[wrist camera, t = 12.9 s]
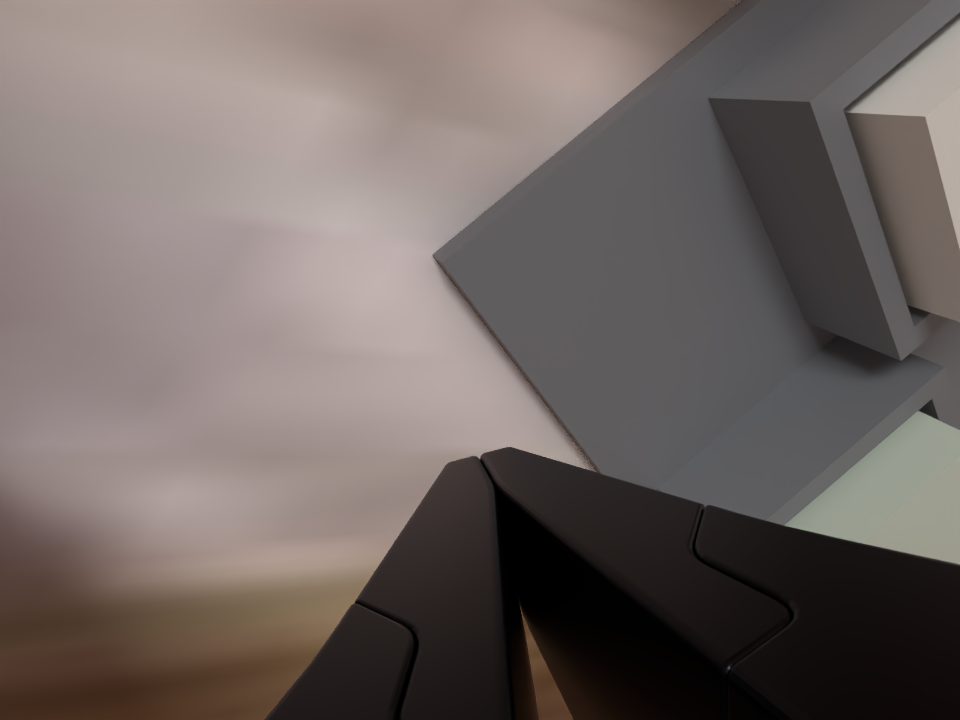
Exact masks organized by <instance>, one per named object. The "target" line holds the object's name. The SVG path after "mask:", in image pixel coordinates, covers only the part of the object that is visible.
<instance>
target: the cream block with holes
mask: <svg viewBox="0 0 960 720" xmlns="http://www.w3.org/2000/svg"><path fill="white" fill-rule="evenodd" d="M843 110H844V113H845V116H846V119H847V122H848V125H849V128H850V131H851V134H852V137H853V140H854V144H855V147H856V150H857V153H858V156H859V159H860V162H861V165H862V168H863V171H864V174H865V177H866V180H867V183H868V186H869V190H870V193H871V196H872V199H873V202H874V205H875V208H876V211H877V214H878V217H879V220H880V223H881V226H882V229H883V232H884V236H885V239H886V242H887V245H888V248H889V251H890V254H891V257H892V260H893V263H894V266H895V269H896V272H897V275H898V278H899V282H900V285H901V288H902V291H903V294H904V297H905V300H906V303H907V305H909V306H912V307H915V308H918V309H921V310H924V311H927V312H930V313H933V314H936V315H939V316H942V317H946V318H949V319H952V320H955V321H958V322H960V13H959V14H957V15H956V16H955V17H954V18H953V19H951V20H950V21H949V22H948V23H947V24H945V25H944V26H943V27H942V28H941V29H939V30H938V31H937V32H936V33H935V34H933V35H932V36H931V37H930V38H929V39H927V40H926V41H925V42H924V43H923V44H921V45H920V46H919V47H918V48H917V49H915V50H914V51H913V52H912V53H911V54H909V55H908V56H907V57H906V58H905V59H903V60H902V61H901V62H900V63H899V64H897V65H896V66H895V67H894V68H893V69H891V70H890V71H889V72H888V73H887V74H885V75H884V76H883V77H882V78H881V79H879V80H878V81H877V82H876V83H875V84H873V85H872V86H871V87H870V88H869V89H867V90H866V91H865V92H864V93H863V94H861V95H860V96H859V97H858V98H857V99H855V100H854V101H853V102H852V103H850V104H849V105H848V106H847V107H846V108H844V109H843Z"/></svg>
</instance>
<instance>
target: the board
mask: <svg viewBox="0 0 960 720" xmlns="http://www.w3.org/2000/svg"><path fill="white" fill-rule="evenodd" d="M959 13H960V0H743V1H741V2H740V3H739V4H738V5H737V6H735V7H734V8H733V9H732V10H730V11H729V12H728V13H727V14H726V15H724V16H723V17H722V18H721V19H719V20H718V21H717V22H716V23H715V24H713V25H712V26H711V27H710V28H708V29H707V30H706V31H705V32H704V33H702V34H701V35H700V36H699V37H698V38H696V39H695V40H694V41H693V42H691V43H690V44H689V45H688V46H687V47H685V48H684V49H683V50H682V51H680V52H679V53H678V54H677V55H676V56H674V57H673V58H672V59H671V60H669V61H668V62H667V63H666V64H665V65H663V66H662V67H661V68H660V69H659V70H657V71H656V72H655V73H654V74H652V75H651V76H650V77H649V78H648V79H646V80H645V81H644V82H643V83H641V84H640V85H639V86H638V87H637V88H635V89H634V90H633V91H632V92H631V93H629V94H628V95H627V96H626V97H624V98H623V99H622V100H621V101H620V102H618V103H617V104H616V105H615V106H613V107H612V108H611V109H610V110H609V111H607V112H606V113H605V114H604V115H602V116H601V117H600V118H599V119H598V120H596V121H595V122H594V123H593V124H592V125H590V126H589V127H588V128H587V129H585V130H584V131H583V132H582V133H581V134H579V135H578V136H577V137H576V138H574V139H573V140H572V141H571V142H570V143H568V144H567V145H566V146H565V147H563V148H562V149H561V150H560V151H559V152H557V153H556V154H555V155H554V156H553V157H551V158H550V159H549V160H548V161H546V162H545V163H544V164H543V165H542V166H540V167H539V168H538V169H537V170H535V171H534V172H533V173H532V174H531V175H529V176H528V177H527V178H526V179H524V180H523V181H522V182H521V183H520V184H518V185H517V186H516V187H515V188H514V189H512V190H511V191H510V192H509V193H507V194H506V195H505V196H504V197H503V198H501V199H500V200H499V201H498V202H496V203H495V204H494V205H493V206H492V207H490V208H489V209H488V210H487V211H485V212H484V213H483V214H482V215H481V216H479V217H478V218H477V219H476V220H475V221H473V222H472V223H471V224H470V225H468V226H467V227H466V228H465V229H464V230H462V231H461V232H460V233H459V234H457V235H456V236H455V237H454V238H453V239H451V240H450V241H449V242H448V243H446V244H445V245H444V246H443V247H442V248H440V249H439V250H438V251H437V252H436V253H434V254H433V257H434V258H435V259H436V261H437V262H438V263H439V264H440V266H441V267H442V268H443V270H444V271H445V272H446V274H447V275H448V276H449V278H450V279H451V280H452V281H453V283H454V284H455V285H456V287H457V288H458V289H459V291H460V292H461V293H462V295H463V296H464V297H465V298H466V300H467V301H468V302H469V304H470V305H471V306H472V308H473V309H474V310H475V312H476V313H477V314H478V315H479V317H480V318H481V319H482V321H483V322H484V323H485V325H486V326H487V327H488V329H489V330H490V331H491V332H492V334H493V335H494V336H495V338H496V339H497V340H498V342H499V343H500V344H501V346H502V347H503V348H504V349H505V351H506V352H507V353H508V355H509V356H510V357H511V359H512V360H513V361H514V363H515V364H516V365H517V366H518V368H519V369H520V370H521V372H522V373H523V374H524V376H525V377H526V378H527V380H528V381H529V382H530V383H531V385H532V386H533V387H534V389H535V390H536V391H537V393H538V394H539V395H540V397H541V398H542V399H543V401H544V402H545V403H546V404H547V406H548V407H549V408H550V410H551V411H552V412H553V414H554V415H555V416H556V418H557V419H558V420H559V421H560V423H561V424H562V425H563V427H564V428H565V429H566V431H567V432H568V433H569V435H570V436H571V437H572V438H573V440H574V441H575V442H576V444H577V445H578V446H579V448H580V449H581V450H582V452H583V453H584V454H585V455H586V457H587V458H588V459H589V461H590V462H591V463H592V465H593V466H594V467H595V469H596V470H597V471H598V472H599V473H600V474H603V475H607V476H610V477H614V478H617V479H620V480H624V481H627V482H630V483H634V484H637V485H641V486H644V487H647V488H651V489H654V490H657V491H661V492H664V493H668V494H671V495H674V496H678V497H681V498H685V499H688V500H691V501H695V502H698V503H701V504H703V505H704V506H705V507H706V506H707V505H713V506H716V507H719V508H723V509H726V510H729V511H733V512H736V513H739V514H743V515H747V516H750V517H754V518H758V519H762V520H765V521H769V522H773V523H776V524H780V525H785V524H786V523H788V522H789V521H790V520H791V519H792V518H793V517H795V516H796V515H797V514H798V513H799V512H800V511H802V510H803V509H804V508H805V507H806V506H807V505H809V504H810V503H811V502H812V501H813V500H814V499H816V498H817V497H818V496H819V495H820V494H821V493H823V492H824V491H825V490H826V489H827V488H828V487H830V486H831V485H832V484H833V483H834V482H835V481H837V480H838V479H839V478H840V477H841V476H842V475H844V474H845V473H846V472H847V471H848V470H849V469H851V468H852V467H853V466H854V465H855V464H856V463H858V462H859V461H860V460H861V459H862V458H863V457H865V456H866V455H867V454H868V453H869V452H870V451H872V450H873V449H874V448H875V447H876V446H877V445H879V444H880V443H881V442H882V441H883V440H884V439H886V438H887V437H888V436H889V435H890V434H891V433H893V432H894V431H895V430H896V429H897V428H898V427H900V426H901V425H902V424H903V423H904V422H905V421H907V420H908V419H909V418H910V417H911V416H912V415H914V414H915V413H916V412H917V411H920V412H922V413H924V414H926V415H928V416H930V417H933V418H935V419H937V420H939V421H941V422H943V423H945V424H947V425H949V426H952V427H954V428H956V429H958V430H960V322H958V321H955V320H952V319H949V318H946V317H942V316H939V315H936V314H933V313H930V312H927V311H924V310H921V309H918V308H915V307H912V306H909V305H907V303H906V300H905V297H904V294H903V291H902V288H901V285H900V282H899V278H898V275H897V272H896V269H895V266H894V263H893V260H892V257H891V254H890V251H889V248H888V245H887V242H886V239H885V236H884V232H883V229H882V226H881V223H880V220H879V217H878V214H877V211H876V208H875V205H874V202H873V199H872V196H871V193H870V190H869V186H868V183H867V180H866V177H865V174H864V171H863V168H862V165H861V162H860V159H859V156H858V153H857V150H856V147H855V144H854V140H853V137H852V134H851V131H850V128H849V125H848V122H847V119H846V116H845V113H844V110H843V109H844V108H846V107H847V106H848V105H849V104H850V103H852V102H853V101H854V100H855V99H857V98H858V97H859V96H860V95H861V94H863V93H864V92H865V91H866V90H867V89H869V88H870V87H871V86H872V85H873V84H875V83H876V82H877V81H878V80H879V79H881V78H882V77H883V76H884V75H885V74H887V73H888V72H889V71H890V70H891V69H893V68H894V67H895V66H896V65H897V64H899V63H900V62H901V61H902V60H903V59H905V58H906V57H907V56H908V55H909V54H911V53H912V52H913V51H914V50H915V49H917V48H918V47H919V46H920V45H921V44H923V43H924V42H925V41H926V40H927V39H929V38H930V37H931V36H932V35H933V34H935V33H936V32H937V31H938V30H939V29H941V28H942V27H943V26H944V25H945V24H947V23H948V22H949V21H950V20H951V19H953V18H954V17H955V16H956V15H957V14H959Z"/></svg>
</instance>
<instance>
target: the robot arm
mask: <svg viewBox="0 0 960 720" xmlns="http://www.w3.org/2000/svg"><path fill="white" fill-rule="evenodd" d="M520 607H521V610H522V613H523V616H524V618H525V620H526V622H527V625H528V627H529V629H530V631H531V633H532V635H533V637H534V639H535V641H536V644H537V646H538V648H539V650H540V652H541V654H542V656H543V658H544V660H545V662H546V664H547V666H548V668H549V670H550V672H551V674H552V676H553V678H554V680H555V682H556V684H557V686H558V688H559V690H560V692H561V694H562V697H563V699H564V701H565V703H566V705H567V707H568V709H569V711H570V713H571V715H572V717H573V719H574V720H960V564H956V563H951V562H946V561H942V560H937V559H932V558H928V557H923V556H919V555H914V554H909V553H905V552H900V551H895V550H891V549H886V548H881V547H877V546H872V545H867V544H863V543H858V542H853V541H849V540H844V539H840V538H836V537H831V536H827V535H823V534H818V533H814V532H810V531H805V530H801V529H796V528H792V527H788V526H784V525H780V524H776V523H773V522H769V521H765V520H762V519H758V518H754V517H750V516H747V515H743V514H739V513H736V512H733V511H729V510H726V509H723V508H719V507H716V506H713V505H707V506H706V507H705V506H704V505H703V504H701V503H698V502H695V501H691V500H688V499H685V498H681V497H678V496H674V495H671V494H668V493H664V492H661V491H657V490H654V489H651V488H647V487H644V486H641V485H637V484H634V483H630V482H627V481H624V480H620V479H617V478H614V477H610V476H607V475H603V474H600V473H597V472H593V471H590V470H586V469H583V468H580V467H576V466H573V465H570V464H566V463H563V462H559V461H556V460H553V459H549V458H546V457H542V456H539V455H536V454H532V453H529V452H526V451H522V450H519V449H515V448H512V447H506V448H502V449H498V450H494V451H490V452H487V453H484V454H482V455H481V458H480V459H479V458H478V457H476V456H471V457H467V458H464V459H460V460H456V461H452V462H449V463H448V464H447V465H446V466H445V467H444V469H443V470H442V472H441V473H440V475H439V476H438V478H437V479H436V481H435V482H434V484H433V485H432V487H431V488H430V490H429V491H428V493H427V494H426V496H425V497H424V499H423V500H422V502H421V503H420V505H419V506H418V508H417V509H416V511H415V512H414V514H413V515H412V517H411V518H410V520H409V521H408V523H407V524H406V526H405V527H404V529H403V530H402V532H401V533H400V535H399V536H398V538H397V539H396V541H395V542H394V544H393V545H392V547H391V548H390V550H389V551H388V553H387V554H386V556H385V557H384V559H383V560H382V562H381V563H380V565H379V566H378V568H377V569H376V571H375V572H374V574H373V575H372V577H371V578H370V580H369V581H368V583H367V584H366V586H365V587H364V589H363V590H362V592H361V593H360V595H359V596H358V598H357V599H356V601H355V603H354V604H353V605H351V606H350V607H349V609H348V610H347V612H346V613H345V615H344V616H343V618H342V619H341V621H340V622H339V624H338V625H337V627H336V628H335V630H334V631H333V632H332V634H331V635H330V637H329V638H328V639H327V641H326V642H325V644H324V645H323V646H322V648H321V649H320V650H319V652H318V653H317V655H316V656H315V657H314V659H313V660H312V662H311V663H310V664H309V666H308V667H307V668H306V669H305V671H304V672H303V673H302V674H301V676H300V677H299V678H298V679H297V680H296V682H295V683H294V684H293V685H292V687H291V688H290V689H289V690H288V692H287V693H286V694H285V695H284V697H283V698H282V699H281V700H280V701H279V703H278V704H277V705H276V706H275V708H274V709H273V710H272V711H271V712H270V714H269V715H268V716H267V717H266V718H265V720H539V717H538V710H537V704H536V698H535V692H534V685H533V679H532V673H531V667H530V660H529V654H528V648H527V642H526V635H525V630H524V625H523V620H522V615H521V610H520Z"/></svg>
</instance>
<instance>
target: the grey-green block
mask: <svg viewBox="0 0 960 720" xmlns="http://www.w3.org/2000/svg"><path fill="white" fill-rule="evenodd" d="M784 526H788V527H792V528H796V529H801V530H805V531H810V532H814V533H818V534H823V535H827V536H831V537H836V538H840V539H844V540H849V541H853V542H858V543H863V544H867V545H872V546H877V547H881V548H886V549H891V550H895V551H900V552H905V553H909V554H914V555H919V556H923V557H928V558H932V559H937V560H942V561H946V562H951V563H956V564H960V430H958V429H956V428H954V427H952V426H949V425H947V424H945V423H943V422H941V421H939V420H937V419H935V418H933V417H930V416H928V415H926V414H924V413H922V412H920V411H917V412H916V413H915V414H914V415H912V416H911V417H910V418H909V419H908V420H907V421H905V422H904V423H903V424H902V425H901V426H900V427H898V428H897V429H896V430H895V431H894V432H893V433H891V434H890V435H889V436H888V437H887V438H886V439H884V440H883V441H882V442H881V443H880V444H879V445H877V446H876V447H875V448H874V449H873V450H872V451H870V452H869V453H868V454H867V455H866V456H865V457H863V458H862V459H861V460H860V461H859V462H858V463H856V464H855V465H854V466H853V467H852V468H851V469H849V470H848V471H847V472H846V473H845V474H844V475H842V476H841V477H840V478H839V479H838V480H837V481H835V482H834V483H833V484H832V485H831V486H830V487H828V488H827V489H826V490H825V491H824V492H823V493H821V494H820V495H819V496H818V497H817V498H816V499H814V500H813V501H812V502H811V503H810V504H809V505H807V506H806V507H805V508H804V509H803V510H802V511H800V512H799V513H798V514H797V515H796V516H795V517H793V518H792V519H791V520H790V521H789V522H788V523H786V524H785V525H784Z"/></svg>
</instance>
